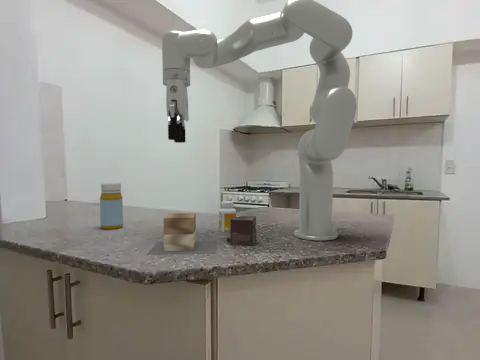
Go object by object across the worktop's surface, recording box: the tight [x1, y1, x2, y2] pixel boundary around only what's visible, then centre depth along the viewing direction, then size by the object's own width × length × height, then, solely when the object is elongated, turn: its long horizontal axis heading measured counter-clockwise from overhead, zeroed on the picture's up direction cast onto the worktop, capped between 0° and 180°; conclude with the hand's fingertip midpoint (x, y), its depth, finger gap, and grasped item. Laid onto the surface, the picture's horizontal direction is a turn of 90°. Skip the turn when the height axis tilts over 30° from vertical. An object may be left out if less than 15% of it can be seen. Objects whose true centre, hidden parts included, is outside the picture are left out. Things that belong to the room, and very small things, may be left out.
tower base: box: [163, 228, 197, 251], centre depth 80 cm, size 7×7×4 cm
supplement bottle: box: [218, 200, 237, 233], centre depth 100 cm, size 5×5×10 cm
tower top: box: [163, 212, 197, 236], centre depth 80 cm, size 7×7×4 cm
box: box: [229, 215, 257, 247], centre depth 85 cm, size 6×6×7 cm
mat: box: [146, 240, 218, 256], centre depth 80 cm, size 16×12×1 cm
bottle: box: [99, 182, 124, 230], centre depth 108 cm, size 7×7×15 cm
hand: (177, 141), depth 90 cm, fingers open, 9 cm apart
